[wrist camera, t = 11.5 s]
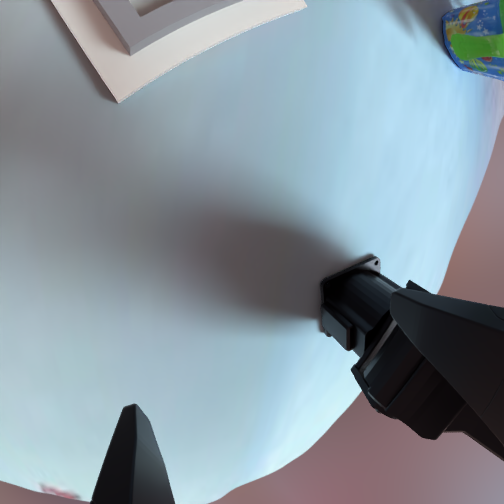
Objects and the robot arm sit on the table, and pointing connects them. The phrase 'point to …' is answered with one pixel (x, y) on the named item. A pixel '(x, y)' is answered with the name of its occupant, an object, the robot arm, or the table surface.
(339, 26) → the table surface
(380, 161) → the table surface
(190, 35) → the square framed plate
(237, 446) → the table surface
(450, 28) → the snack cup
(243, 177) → the table surface
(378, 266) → the robot arm
